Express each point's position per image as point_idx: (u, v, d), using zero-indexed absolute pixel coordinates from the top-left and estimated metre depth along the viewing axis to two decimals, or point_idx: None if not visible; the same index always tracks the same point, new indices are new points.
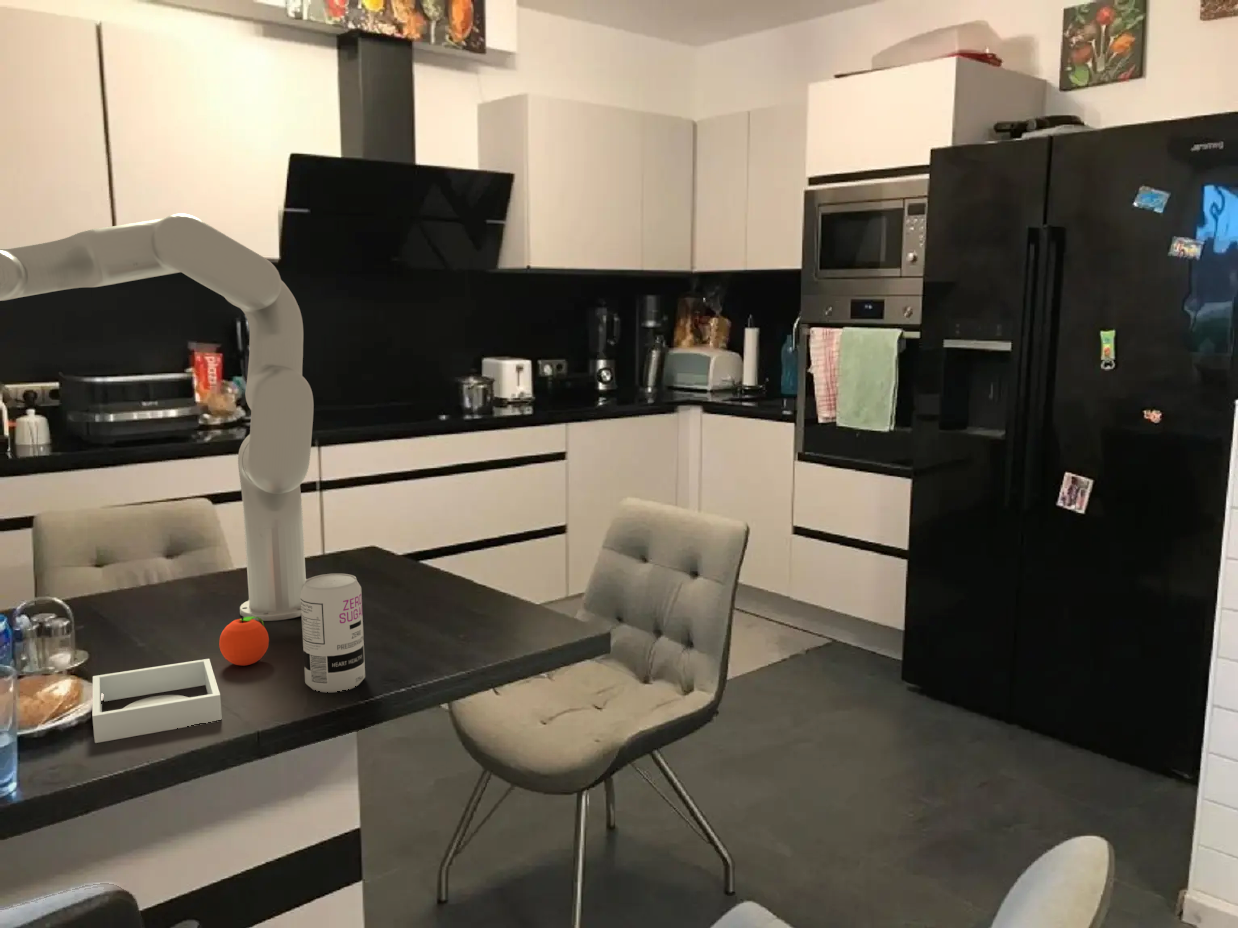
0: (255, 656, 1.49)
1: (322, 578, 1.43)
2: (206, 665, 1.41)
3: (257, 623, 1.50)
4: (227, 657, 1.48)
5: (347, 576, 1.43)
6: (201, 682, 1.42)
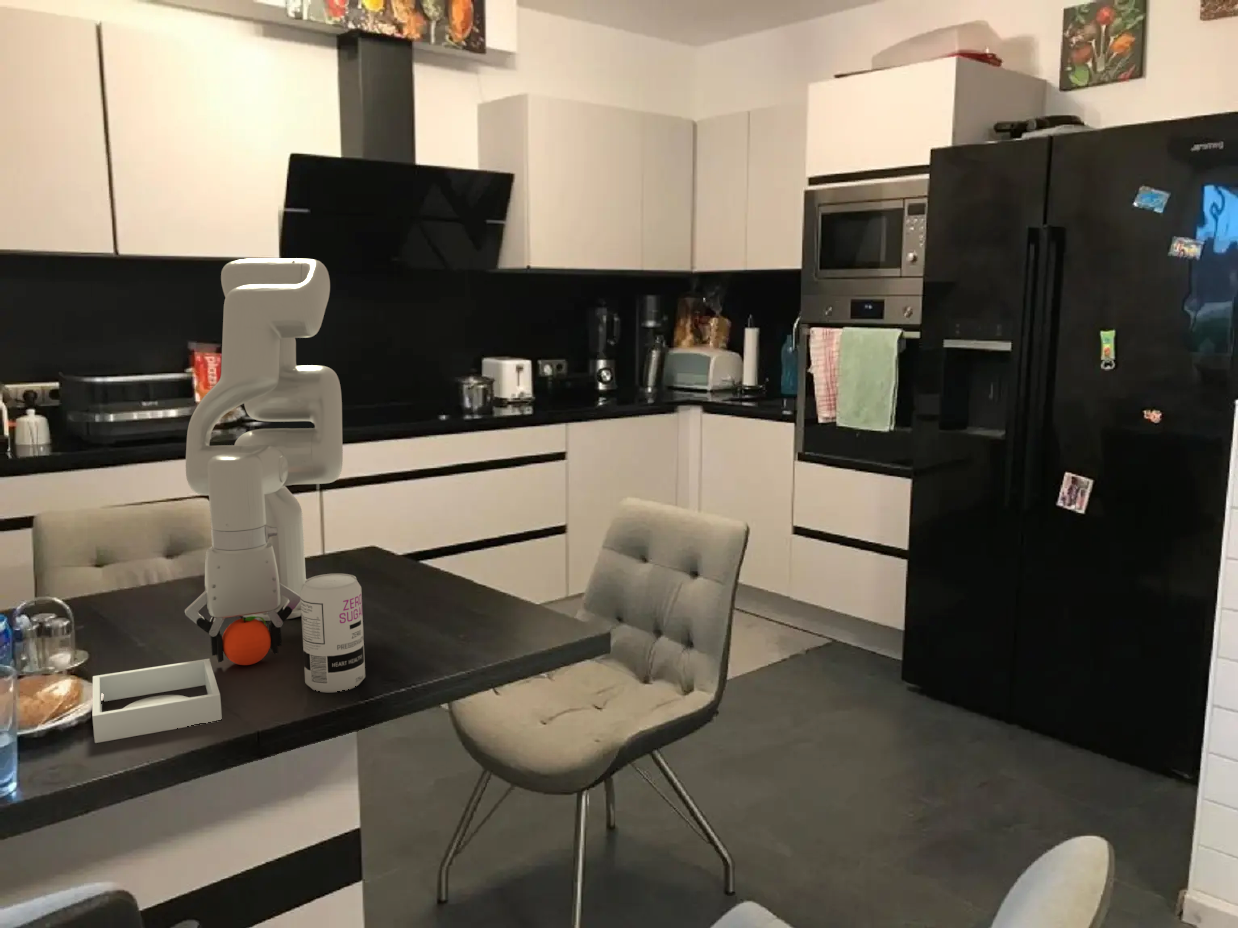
0: (258, 655, 1.49)
1: (322, 578, 1.43)
2: (206, 665, 1.41)
3: (259, 623, 1.50)
4: (229, 657, 1.48)
5: (348, 576, 1.43)
6: (201, 682, 1.42)
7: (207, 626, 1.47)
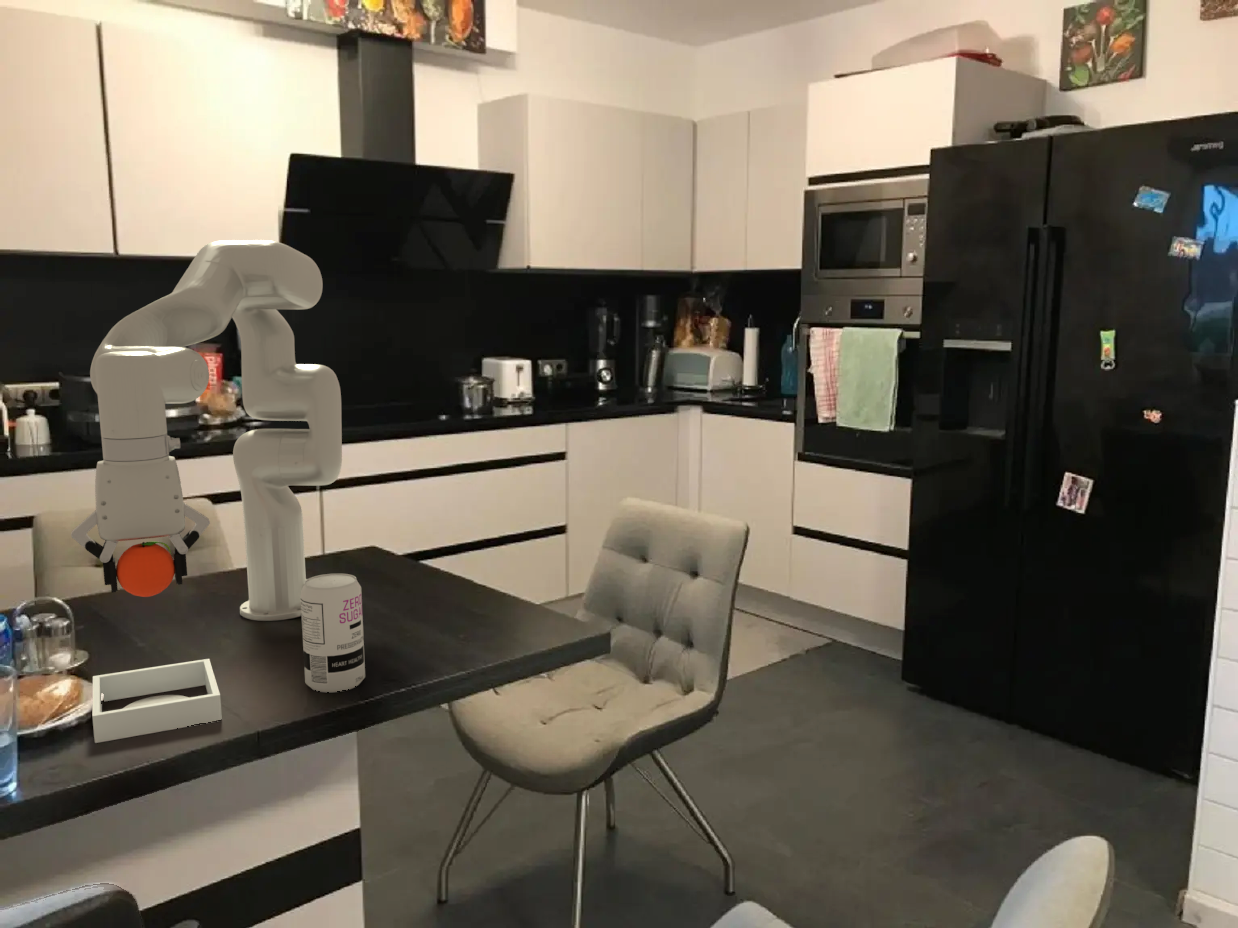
0: (158, 585, 1.29)
1: (322, 578, 1.42)
2: (206, 665, 1.41)
3: (160, 548, 1.30)
4: (124, 586, 1.28)
5: (347, 576, 1.43)
6: (201, 682, 1.42)
7: (98, 551, 1.27)
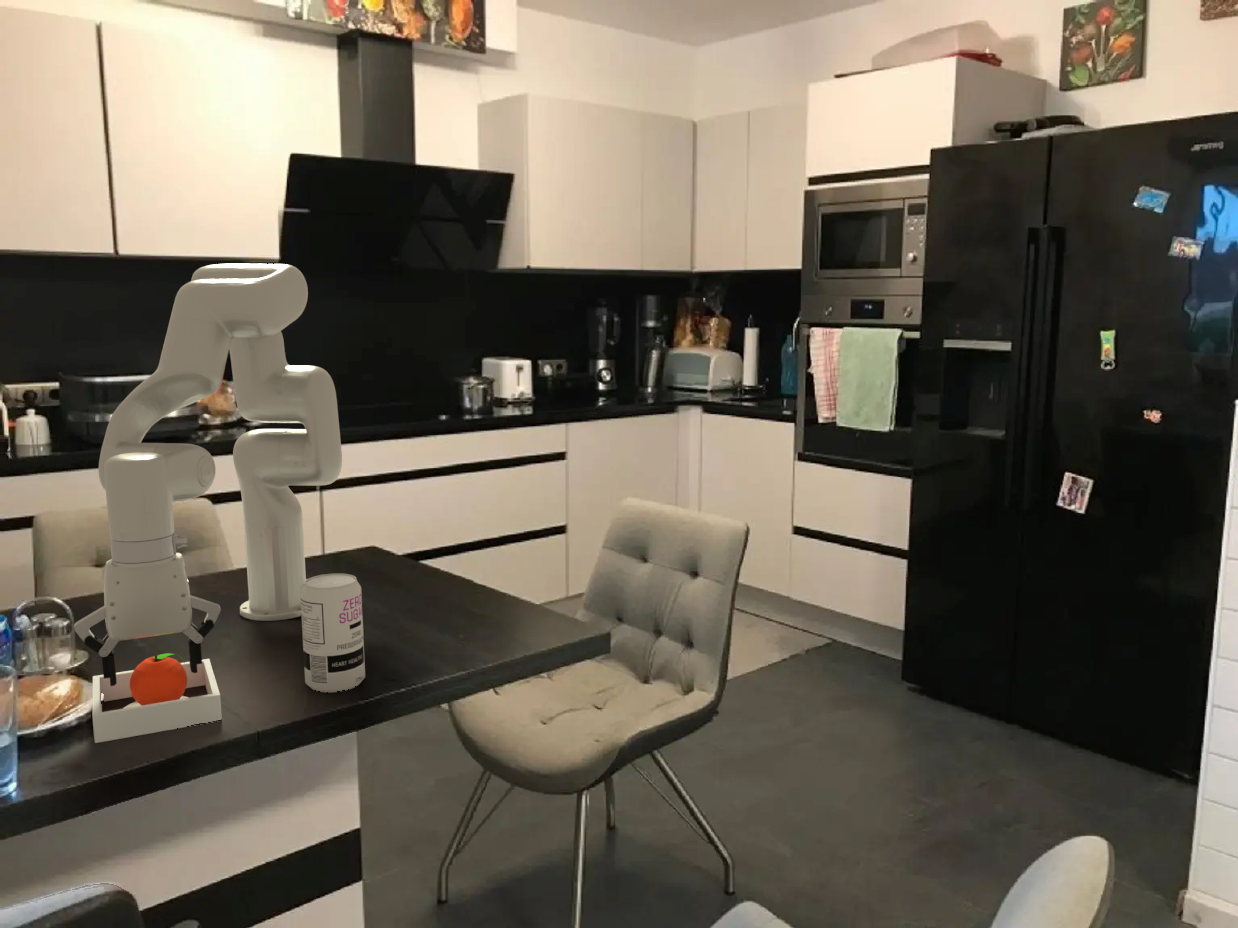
0: (169, 699, 1.32)
1: (322, 578, 1.43)
2: (206, 665, 1.41)
3: (172, 662, 1.33)
4: (137, 700, 1.31)
5: (347, 576, 1.43)
6: (201, 682, 1.42)
7: (97, 645, 1.29)
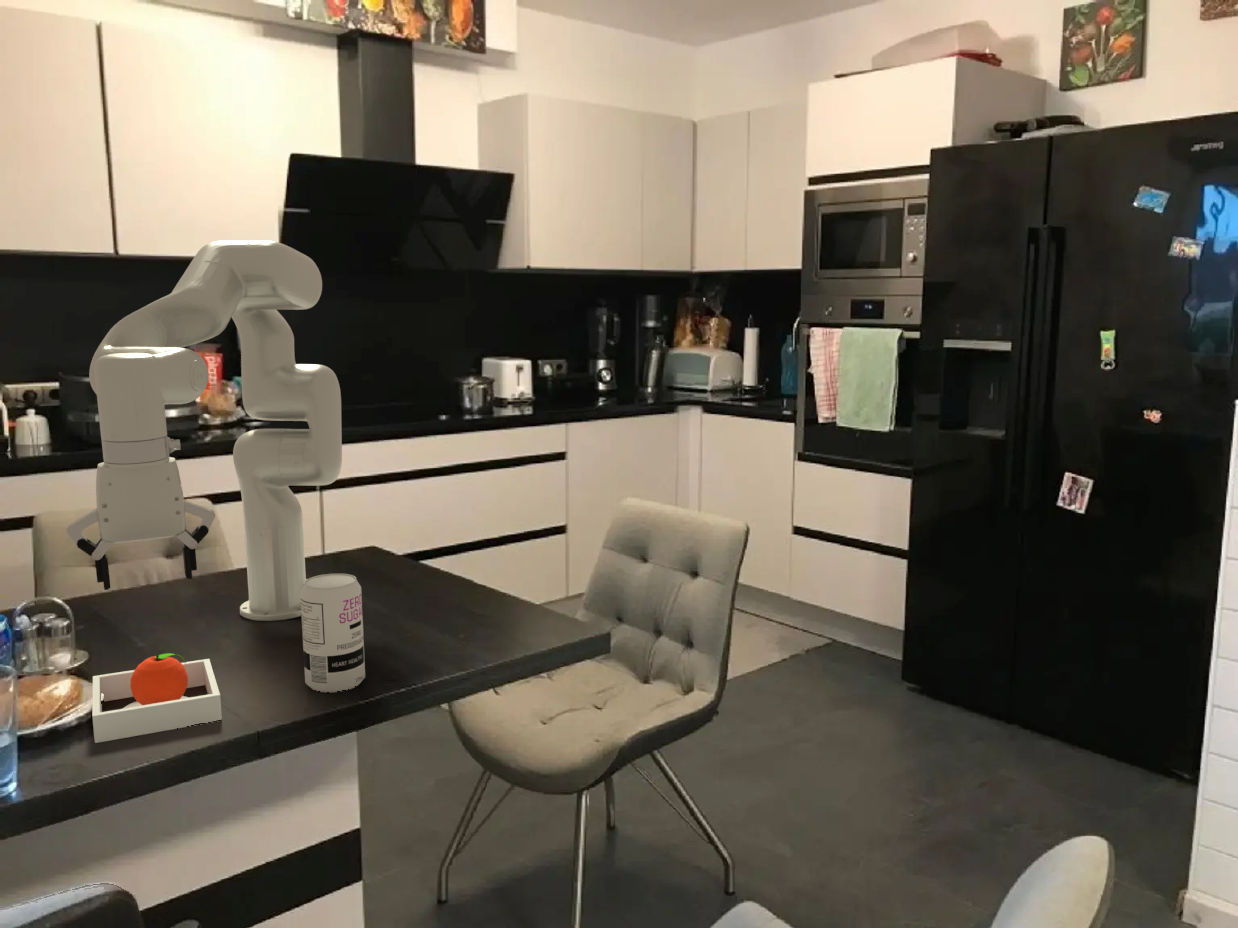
0: (170, 698, 1.32)
1: (322, 578, 1.42)
2: (206, 665, 1.41)
3: (174, 661, 1.34)
4: (138, 699, 1.31)
5: (347, 576, 1.43)
6: (201, 682, 1.42)
7: (90, 548, 1.27)
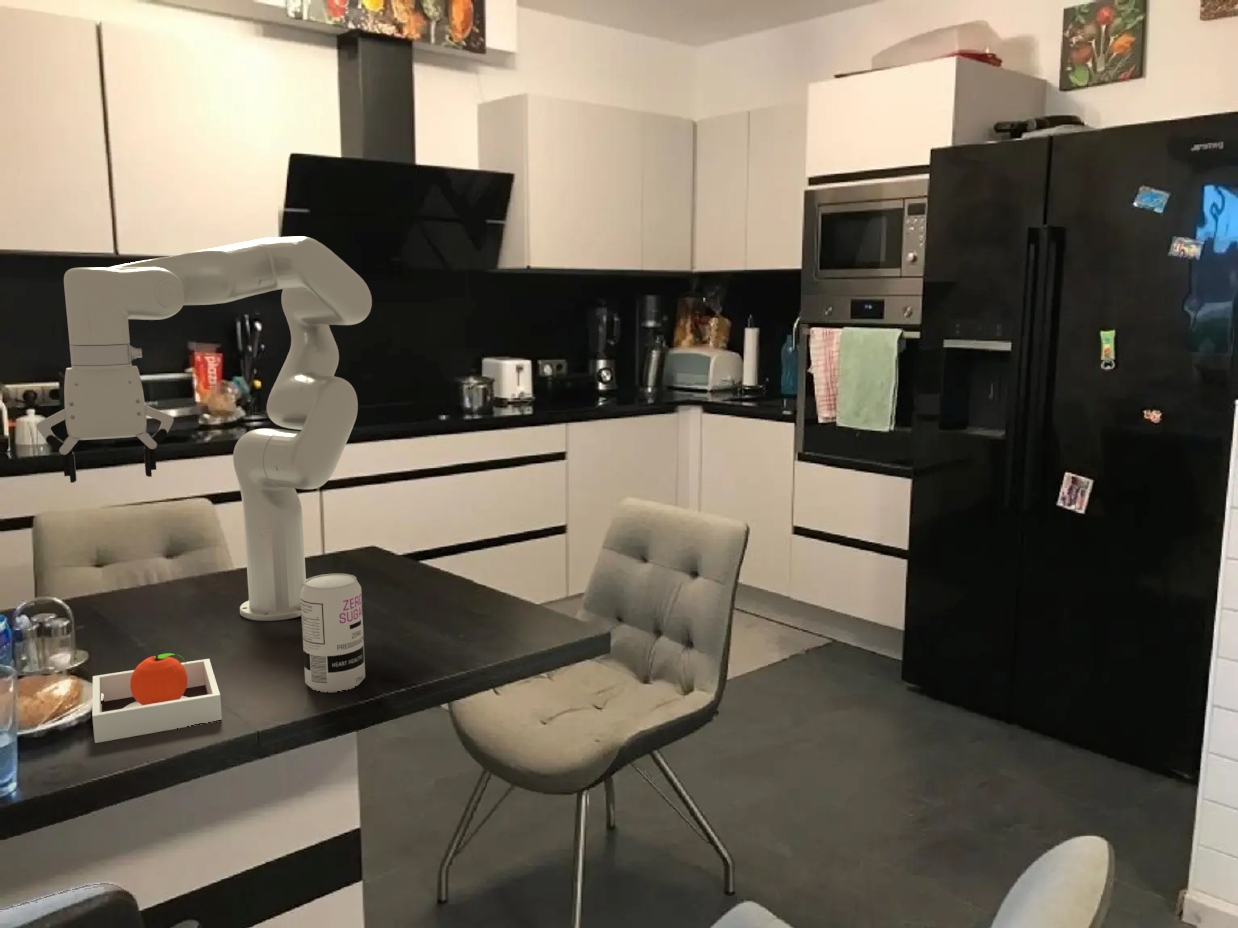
0: (169, 698, 1.32)
1: (322, 578, 1.43)
2: (206, 665, 1.41)
3: (173, 661, 1.33)
4: (137, 699, 1.32)
5: (348, 576, 1.43)
6: (201, 682, 1.42)
7: (57, 444, 1.40)
